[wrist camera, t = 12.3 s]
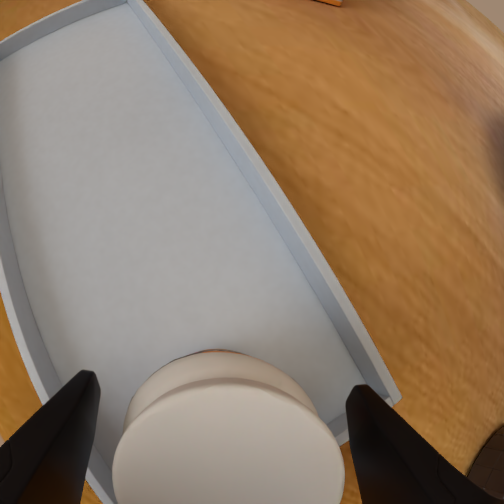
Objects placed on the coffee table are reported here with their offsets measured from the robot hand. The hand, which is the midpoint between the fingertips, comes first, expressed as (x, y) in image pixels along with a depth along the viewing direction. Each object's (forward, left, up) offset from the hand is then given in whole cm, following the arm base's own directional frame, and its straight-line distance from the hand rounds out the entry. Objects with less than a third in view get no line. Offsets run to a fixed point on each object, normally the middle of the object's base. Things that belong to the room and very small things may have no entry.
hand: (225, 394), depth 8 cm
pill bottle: (-1, -1, -7) cm, 7 cm away
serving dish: (-1, +14, -7) cm, 15 cm away
